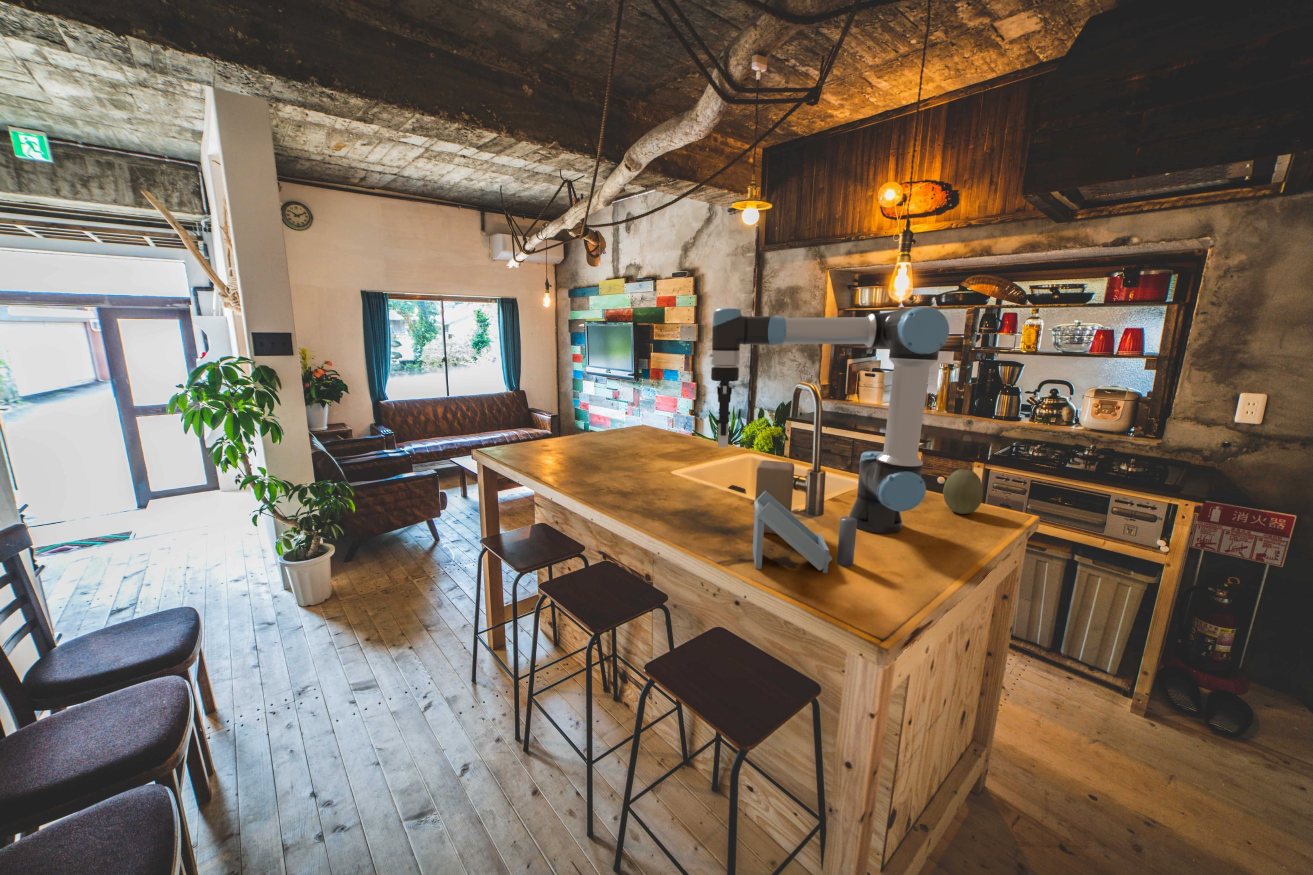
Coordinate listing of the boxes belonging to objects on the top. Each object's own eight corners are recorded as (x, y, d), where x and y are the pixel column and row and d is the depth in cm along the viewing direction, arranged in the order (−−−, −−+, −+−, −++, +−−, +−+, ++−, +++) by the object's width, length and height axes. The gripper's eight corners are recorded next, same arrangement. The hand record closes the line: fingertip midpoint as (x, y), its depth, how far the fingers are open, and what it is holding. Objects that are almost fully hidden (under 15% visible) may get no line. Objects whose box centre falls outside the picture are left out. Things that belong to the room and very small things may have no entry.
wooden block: (790, 525, 157) (794, 462, 153) (787, 536, 148) (792, 470, 144) (757, 521, 160) (761, 459, 156) (753, 532, 151) (756, 466, 147)
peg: (850, 560, 133) (854, 516, 130) (854, 567, 129) (859, 522, 126) (834, 559, 133) (838, 515, 131) (838, 566, 129) (842, 521, 127)
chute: (822, 555, 136) (828, 493, 132) (831, 573, 125) (837, 506, 122) (751, 551, 138) (754, 490, 134) (754, 568, 127) (757, 502, 124)
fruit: (935, 511, 171) (940, 468, 168) (947, 504, 178) (953, 463, 175) (973, 521, 163) (980, 475, 160) (984, 513, 170) (991, 469, 167)
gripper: (712, 363, 153) (710, 433, 157) (710, 369, 129) (708, 451, 133) (737, 364, 152) (734, 434, 157) (740, 369, 128) (737, 452, 132)
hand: (722, 442), depth 145 cm, fingers open, 13 cm apart
